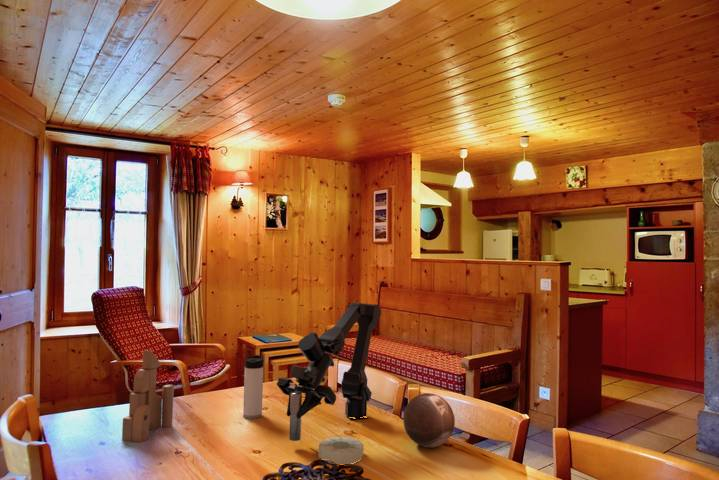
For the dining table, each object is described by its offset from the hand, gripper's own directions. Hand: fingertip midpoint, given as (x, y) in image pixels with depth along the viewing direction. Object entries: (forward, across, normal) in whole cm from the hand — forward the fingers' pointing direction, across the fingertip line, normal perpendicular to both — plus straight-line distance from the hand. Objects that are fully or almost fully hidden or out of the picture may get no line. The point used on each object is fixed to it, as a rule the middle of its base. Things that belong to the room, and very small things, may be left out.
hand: (292, 416), depth 137 cm
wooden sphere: (-11, +31, +25) cm, 41 cm away
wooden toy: (+17, -44, -4) cm, 47 cm away
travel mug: (-4, -29, +17) cm, 34 cm away
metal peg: (+4, 0, +6) cm, 7 cm away
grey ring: (+4, +14, +10) cm, 17 cm away
